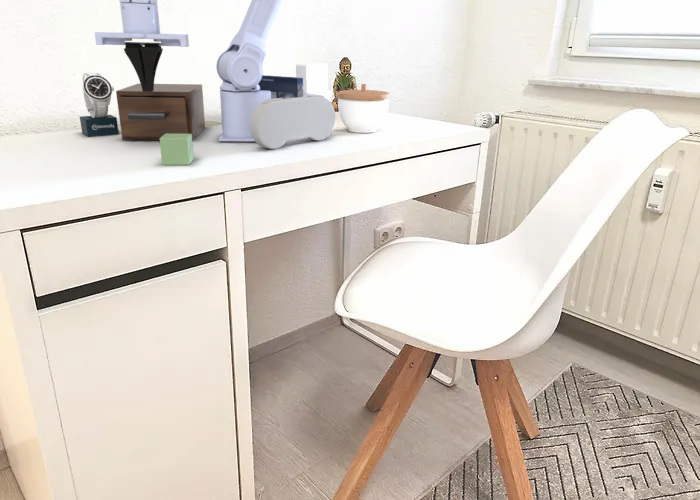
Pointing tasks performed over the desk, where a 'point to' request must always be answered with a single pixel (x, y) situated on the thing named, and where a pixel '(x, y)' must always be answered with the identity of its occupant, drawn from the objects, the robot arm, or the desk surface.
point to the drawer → (153, 115)
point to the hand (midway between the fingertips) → (148, 91)
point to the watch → (97, 106)
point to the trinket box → (363, 109)
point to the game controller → (292, 120)
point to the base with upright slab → (313, 79)
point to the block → (176, 149)
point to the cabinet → (188, 91)
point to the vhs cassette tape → (282, 86)
